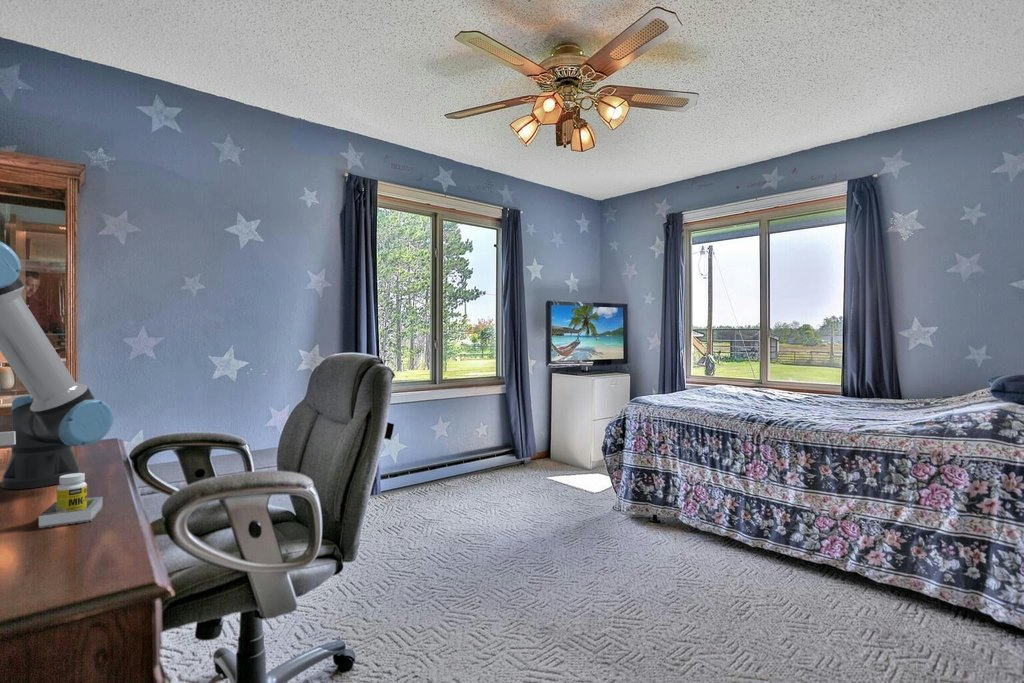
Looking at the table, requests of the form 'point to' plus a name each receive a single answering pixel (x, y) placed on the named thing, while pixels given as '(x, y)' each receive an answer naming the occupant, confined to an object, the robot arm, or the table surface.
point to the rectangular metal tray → (70, 514)
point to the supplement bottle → (71, 492)
